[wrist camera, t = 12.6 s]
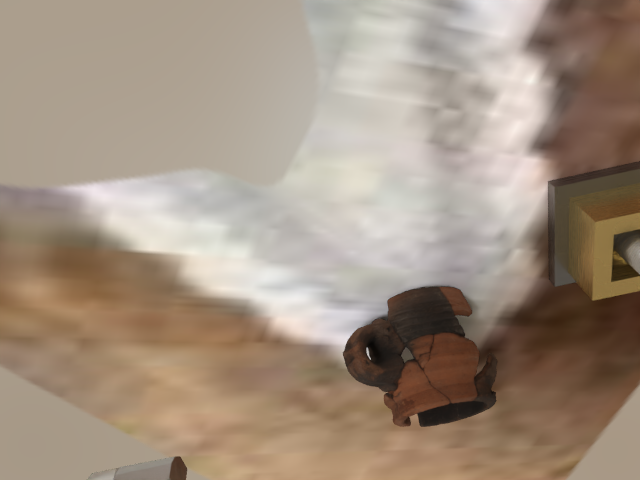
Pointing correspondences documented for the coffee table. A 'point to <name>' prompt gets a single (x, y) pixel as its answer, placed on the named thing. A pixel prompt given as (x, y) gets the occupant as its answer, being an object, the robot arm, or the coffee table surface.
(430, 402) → the pottery mug
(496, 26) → the coffee table surface
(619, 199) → the wooden square frame
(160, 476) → the robot arm
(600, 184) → the post
